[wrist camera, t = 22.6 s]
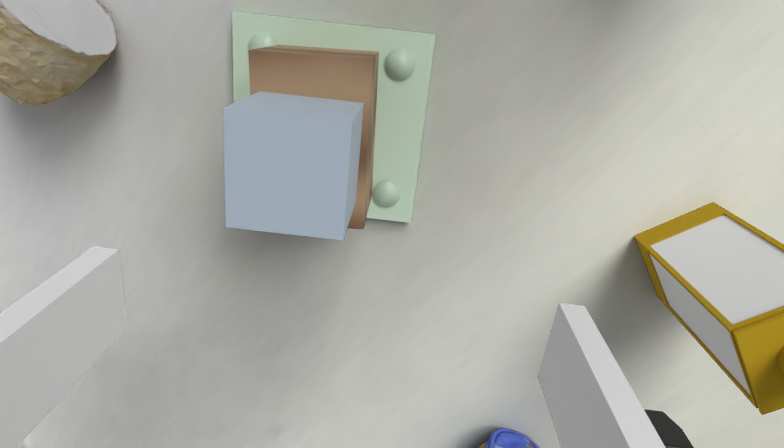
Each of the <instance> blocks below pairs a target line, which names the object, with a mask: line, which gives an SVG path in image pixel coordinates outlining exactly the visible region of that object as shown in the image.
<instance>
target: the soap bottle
mask: <svg viewBox="0 0 784 448" xmlns="http://www.w3.org/2000/svg"><path fill="white" fill-rule="evenodd" d="M634 237H635V240H636V242H637V245H638V248H639V250H640V253H641V255H642V258H643V260H644V263H645V265H646V268H647V270H648V273H649V275H650V278H651V281H652V283H653V286H654V288H655V291H656V293H657V296H658V298H659V299H660V300H661V301H662V302H663V303H664V304H665V305H666V307H667V308H668V309H669V310H670V311H671V312H672V313H673V315H674V316H675V317H676V318H677V319H678V320H679V321H680V322H681V324H682V325H683V326H684V327H685V328H686V329H687V330H688V331H689V333H690V334H691V335H692V336H693V337H694V338H695V339H696V340H697V342H698V343H699V344H700V345H701V346H702V347H703V348H704V349H705V351H706V352H707V353H708V354H709V355H710V356H711V357H712V359H713V360H714V361H715V362H716V363H717V364H718V365H719V366H720V368H721V369H722V370H723V371H724V372H725V373H726V374H727V375H728V377H729V378H730V379H731V380H732V381H733V382H734V383H735V384H736V386H737V387H738V388H739V389H740V390H741V391H742V392H743V393H744V395H745V396H746V397H747V398H748V399H749V400H750V401H751V403H752V404H753V405H754V406H755V407H756V408H759V411H760V413H761V414H762V415H764V414H767V413H770V412H773V411H776V410H779V409H782V408H784V245H783V244H782V243H780V242H778V241H777V240H775V239H774V238H772V237H770V236H769V235H767V234H765V233H764V232H762V231H760V230H759V229H757V228H755V227H754V226H752V225H750V224H749V223H747V222H745V221H744V220H742V219H740V218H739V217H737V216H735V215H734V214H732V213H730V212H729V211H727V210H725V209H724V208H722V207H721V206H719V205H717V204H716V203H714V202H713V203H710V204H708V205H706V206H703V207H701V208H699V209H696V210H694V211H692V212H689V213H687V214H685V215H682V216H680V217H678V218H675V219H673V220H670V221H668V222H666V223H663V224H661V225H659V226H656V227H654V228H652V229H649V230H647V231H645V232H642V233H640V234H638V235H635V236H634Z"/></svg>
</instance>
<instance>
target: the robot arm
mask: <svg viewBox="0 0 784 448" xmlns="http://www.w3.org/2000/svg"><path fill="white" fill-rule="evenodd" d="M127 327H128V323H127V315H126V306H125V297H124V288H123V279H122V270H121V261H120V252H119V249H114V248H105V247H97V246H93V247H91V248H90V249H89V250H87V251H86V252H84V253H83V254H82V255H80V256H79V257H78V258H76V259H75V260H73V261H72V262H71V263H69V264H68V265H66V266H65V267H64V268H62V269H61V270H59V271H58V272H57V273H55V274H54V275H52V276H51V277H50V278H48V279H47V280H46V281H44V282H43V283H41V284H40V285H39V286H37V287H36V288H34V289H33V290H32V291H30V292H29V293H27V294H26V295H25V296H23V297H22V298H20V299H19V300H18V301H16V302H15V303H13V304H12V305H11V306H9V307H8V308H7V309H5V310H4V311H2V312H1V313H0V448H16V447H17V446H18V445H19V444H20V443H21V442H22V441H23V440H24V439H25V438H26V437H27V435H28V434H29V433H30V432H31V431H32V430H33V429H34V428H35V427H36V426H37V425H38V424H39V422H40V421H41V420H42V419H43V418H44V417H45V416H46V415H47V414H48V413H49V412H50V411H51V410H52V408H53V407H54V406H55V405H56V404H57V403H58V402H59V401H60V400H61V399H62V398H63V397H64V395H65V394H66V393H67V392H68V391H69V390H70V389H71V388H72V387H73V386H74V385H75V384H76V382H77V381H78V380H79V379H80V378H81V377H82V376H83V375H84V374H85V373H86V372H87V371H88V369H89V368H90V367H91V366H92V365H93V364H94V363H95V362H96V361H97V360H98V359H99V358H100V356H101V355H102V354H103V353H104V352H105V351H106V350H107V349H108V348H109V347H110V346H111V345H112V343H113V342H114V341H115V340H116V339H117V338H118V337H119V336H120V335H121V334H122V333H123V332H124V331H125V329H126V328H127ZM538 378H539V381H540V384H541V387H542V390H543V393H544V396H545V399H546V402H547V405H548V408H549V411H550V414H551V417H552V420H553V423H554V426H555V429H556V432H557V435H558V438H559V441H560V444H561V447H562V448H693V446H692V444H691V443H690V441H689V440H688V438H687V437H686V435H685V433H684V432H683V430H682V429H681V428H680V427H679V426H678V425H677V424H676V423H675V422H673V421H672V420H671V419H670V418H669V417H668V416H667V415H666V414H665V413H664V412H661V411H653V410H644V409H643V407H642V405H641V404H640V402H639V400H638V398H637V397H636V395H635V393H634V391H633V390H632V388H631V386H630V384H629V383H628V381H627V379H626V377H625V376H624V374H623V372H622V370H621V369H620V367H619V365H618V363H617V362H616V360H615V358H614V356H613V355H612V353H611V351H610V349H609V348H608V346H607V344H606V342H605V341H604V339H603V337H602V335H601V334H600V332H599V330H598V328H597V327H596V325H595V323H594V321H593V320H592V318H591V316H590V314H589V312H588V311H587V309H586V307H585V306H581V305H573V304H565V303H559V305H558V308H557V312H556V316H555V319H554V323H553V326H552V330H551V333H550V337H549V340H548V344H547V347H546V351H545V354H544V358H543V361H542V365H541V369H540V372H539V376H538Z"/></svg>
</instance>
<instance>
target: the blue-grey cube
mask: <svg viewBox="0 0 784 448" xmlns="http://www.w3.org/2000/svg"><path fill="white" fill-rule="evenodd" d="M363 108H364V103H360V102H351V101H342V100H333V99H325V98H316V97H307V96H298V95H289V94H280V93H271V92H262V91H259V92H257V93H255V94H253V95H250V96H248V97H246V98H244V99H242V100H240V101H237V102H235V103H233V104H231V105H229V106H226V107H224V108H223V133H224V176H225V219H226V227H227V228H236V229H245V230H254V231H263V232H272V233H281V234H290V235H299V236H308V237H317V238H326V239H335V240H344V237H345V234H346V231H347V227H348V224H349V221H350V218H351V215H352V212H353V209H354V206H355V202H356V194H357V182H358V170H359V157H360V145H361V133H362V121H363Z"/></svg>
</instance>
